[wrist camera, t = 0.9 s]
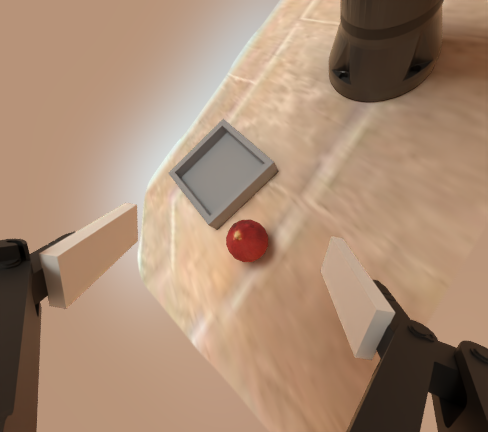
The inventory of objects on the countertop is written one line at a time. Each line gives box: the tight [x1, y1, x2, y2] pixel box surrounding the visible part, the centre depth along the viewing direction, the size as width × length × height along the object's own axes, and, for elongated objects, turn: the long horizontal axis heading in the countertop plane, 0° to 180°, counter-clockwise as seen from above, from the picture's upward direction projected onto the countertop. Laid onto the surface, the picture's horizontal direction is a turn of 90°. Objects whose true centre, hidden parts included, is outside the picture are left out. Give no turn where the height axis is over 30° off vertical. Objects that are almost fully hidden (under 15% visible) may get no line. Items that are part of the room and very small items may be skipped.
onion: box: [226, 220, 268, 262], centre depth 33 cm, size 6×6×8 cm
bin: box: [169, 119, 278, 229], centre depth 41 cm, size 14×14×3 cm
